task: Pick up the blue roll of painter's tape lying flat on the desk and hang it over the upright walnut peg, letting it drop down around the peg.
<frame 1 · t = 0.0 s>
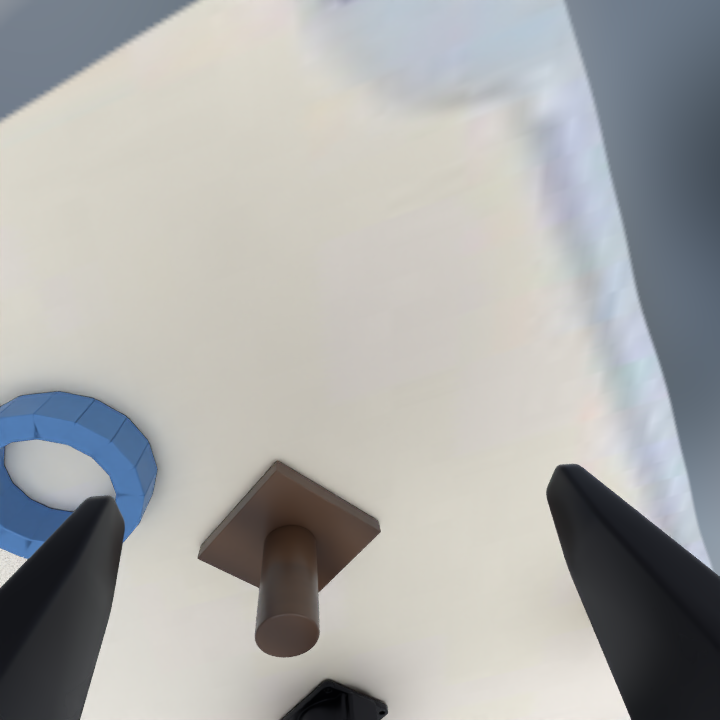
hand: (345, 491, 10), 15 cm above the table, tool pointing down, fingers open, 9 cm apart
peg stand: (290, 533, 30), on the table
tape: (69, 465, 26), on the table
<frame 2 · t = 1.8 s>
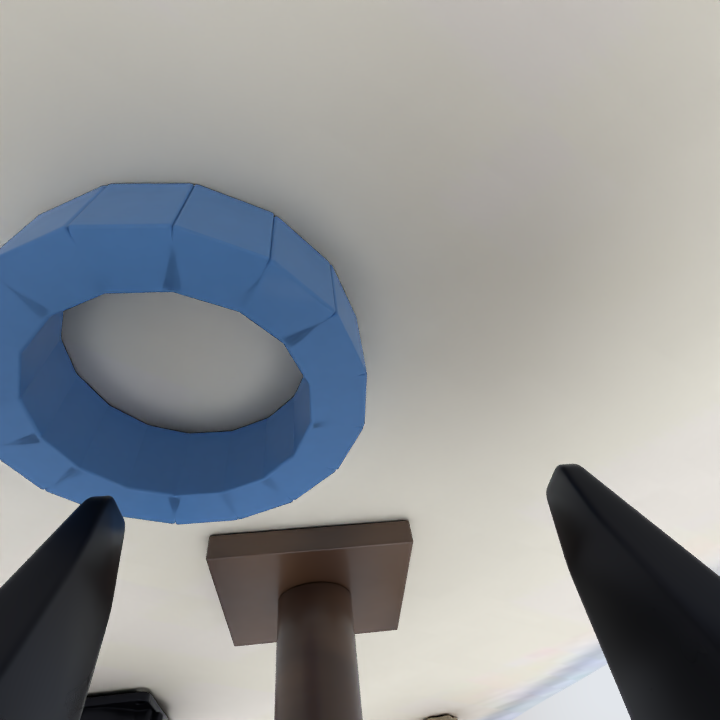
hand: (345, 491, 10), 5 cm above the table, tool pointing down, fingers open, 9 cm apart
peg stand: (314, 577, 21), on the table
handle: (437, 717, 37), on the table
tape: (191, 351, 13), on the table
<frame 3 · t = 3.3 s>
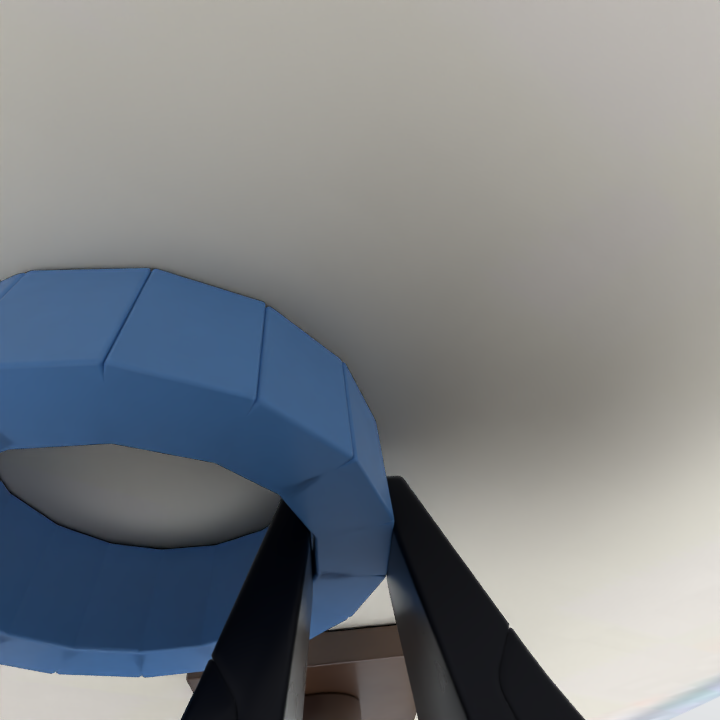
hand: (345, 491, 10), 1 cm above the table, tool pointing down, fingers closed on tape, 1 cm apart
peg stand: (316, 677, 18), on the table
tape: (160, 464, 10), on the table, touching gripper
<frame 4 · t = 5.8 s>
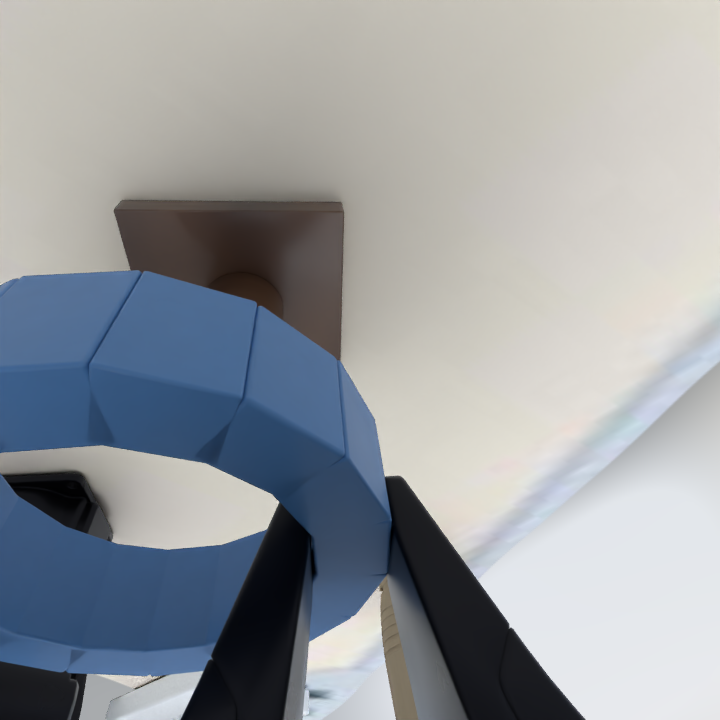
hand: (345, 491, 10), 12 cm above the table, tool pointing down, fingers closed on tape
peg stand: (245, 294, 20), on the table
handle: (399, 566, 36), on the table
trophy: (213, 691, 47), on the table
tape: (162, 465, 10), point 11 cm above the table, touching gripper
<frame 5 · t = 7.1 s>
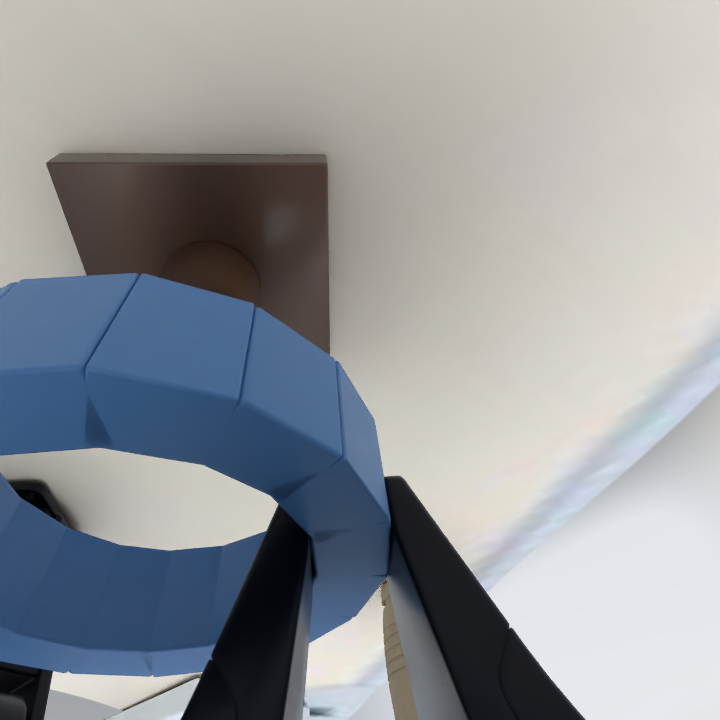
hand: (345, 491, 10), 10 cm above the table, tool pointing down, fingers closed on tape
peg stand: (216, 271, 17), on the table
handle: (403, 578, 33), on the table
trophy: (207, 710, 44), on the table
tape: (162, 466, 10), point 9 cm above the table, touching gripper
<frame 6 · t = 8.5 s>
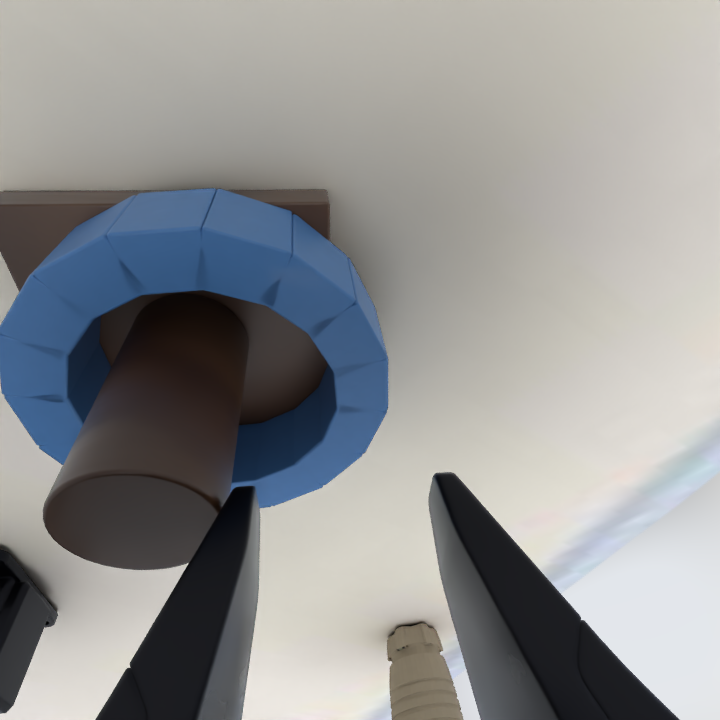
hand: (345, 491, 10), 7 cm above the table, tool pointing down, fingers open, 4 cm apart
peg stand: (197, 322, 14), on the table
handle: (410, 629, 30), on the table
tape: (220, 348, 14), point 1 cm above the table, touching peg stand
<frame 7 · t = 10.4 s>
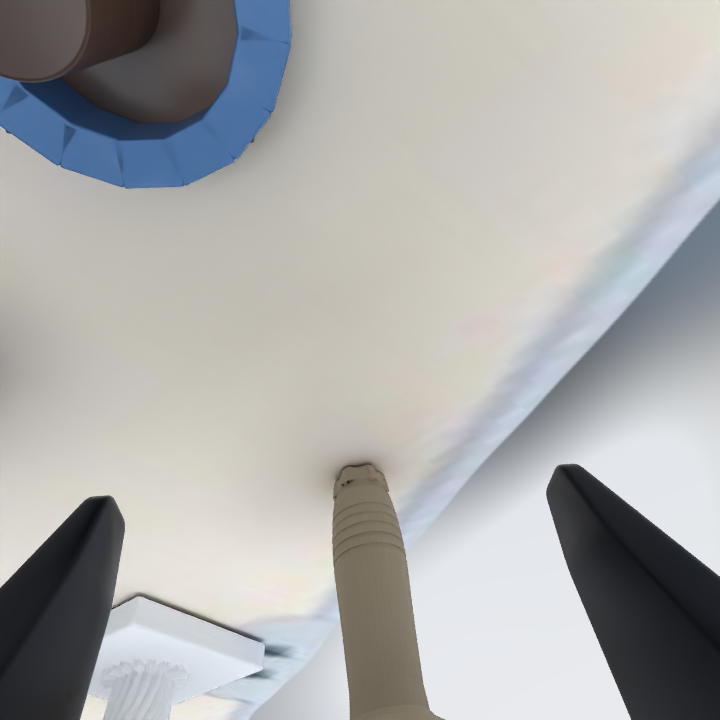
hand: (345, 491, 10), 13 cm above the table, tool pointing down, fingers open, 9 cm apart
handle: (358, 475, 30), on the table
trophy: (153, 643, 41), on the table
tape: (130, 2, 14), point 1 cm above the table, touching peg stand
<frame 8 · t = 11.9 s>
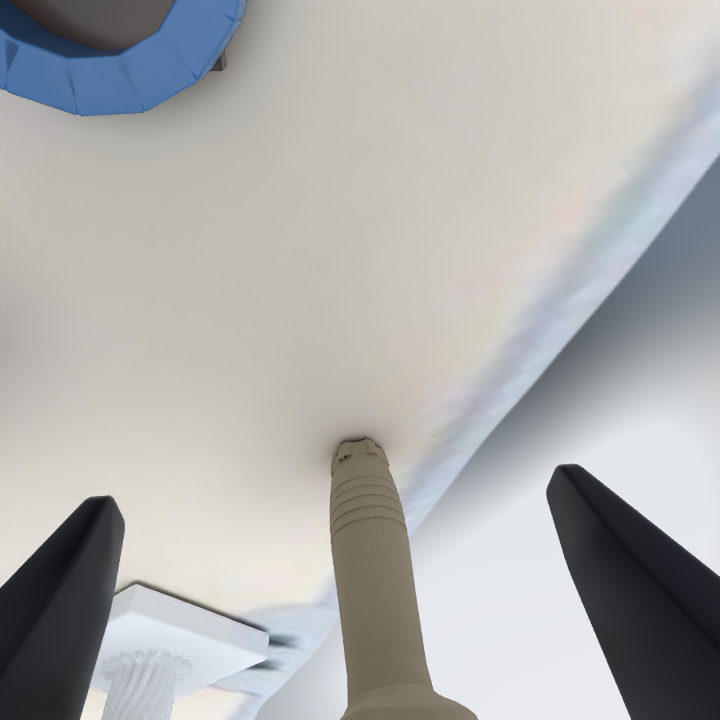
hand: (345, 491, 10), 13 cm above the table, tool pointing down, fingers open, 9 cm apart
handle: (357, 451, 29), on the table
trophy: (155, 634, 40), on the table
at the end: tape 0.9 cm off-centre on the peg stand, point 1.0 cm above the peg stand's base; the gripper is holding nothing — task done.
